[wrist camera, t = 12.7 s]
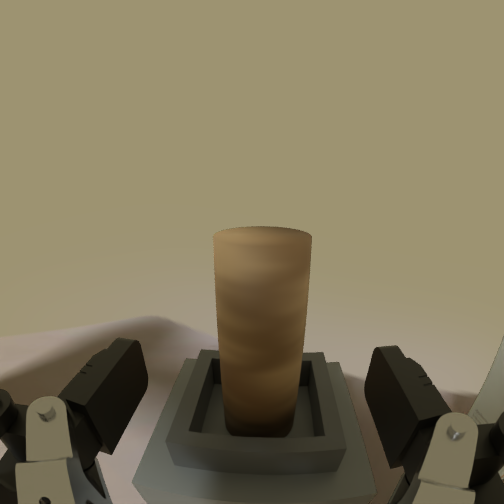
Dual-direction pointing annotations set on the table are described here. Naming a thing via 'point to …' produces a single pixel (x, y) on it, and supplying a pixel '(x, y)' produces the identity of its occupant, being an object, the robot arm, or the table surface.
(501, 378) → the small box
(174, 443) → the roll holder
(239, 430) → the cardboard roll
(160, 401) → the table surface
